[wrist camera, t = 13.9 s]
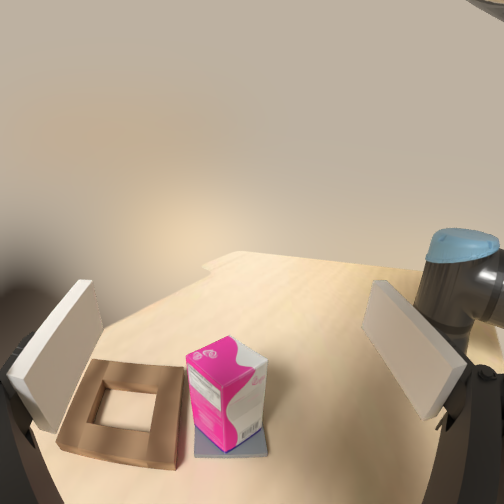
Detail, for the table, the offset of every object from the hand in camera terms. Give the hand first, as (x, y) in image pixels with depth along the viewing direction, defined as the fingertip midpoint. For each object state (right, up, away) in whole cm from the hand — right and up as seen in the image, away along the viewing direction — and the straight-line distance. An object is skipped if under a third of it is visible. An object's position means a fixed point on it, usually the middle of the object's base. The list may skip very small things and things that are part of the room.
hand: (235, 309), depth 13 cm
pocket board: (-15, -18, +18) cm, 29 cm away
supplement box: (-2, -18, +17) cm, 25 cm away
